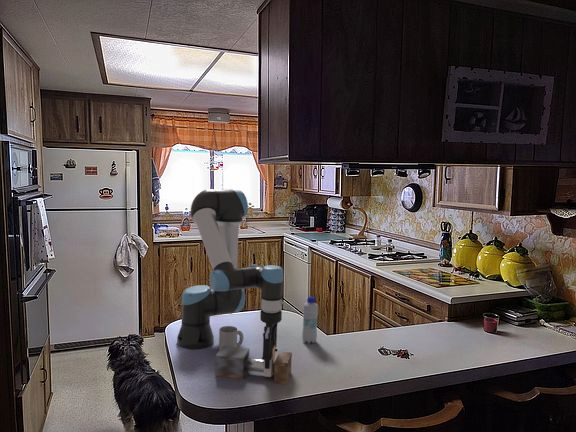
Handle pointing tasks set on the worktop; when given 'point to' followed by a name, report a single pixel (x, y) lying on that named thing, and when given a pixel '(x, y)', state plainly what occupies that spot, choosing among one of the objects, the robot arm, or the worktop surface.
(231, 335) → the cup
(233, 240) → the robot arm
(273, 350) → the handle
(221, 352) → the sleeve and socket
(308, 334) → the bottle
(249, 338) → the worktop surface
